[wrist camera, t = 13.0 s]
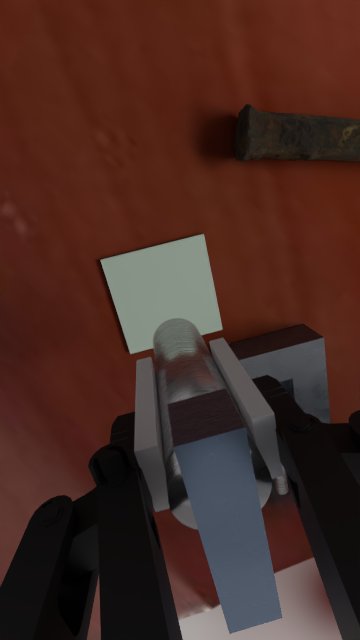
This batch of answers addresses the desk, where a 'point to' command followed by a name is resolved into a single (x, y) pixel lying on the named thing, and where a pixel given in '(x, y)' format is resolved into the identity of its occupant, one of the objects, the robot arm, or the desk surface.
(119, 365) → the desk surface
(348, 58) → the desk surface
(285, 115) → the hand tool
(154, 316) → the mat
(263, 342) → the block
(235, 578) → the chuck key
